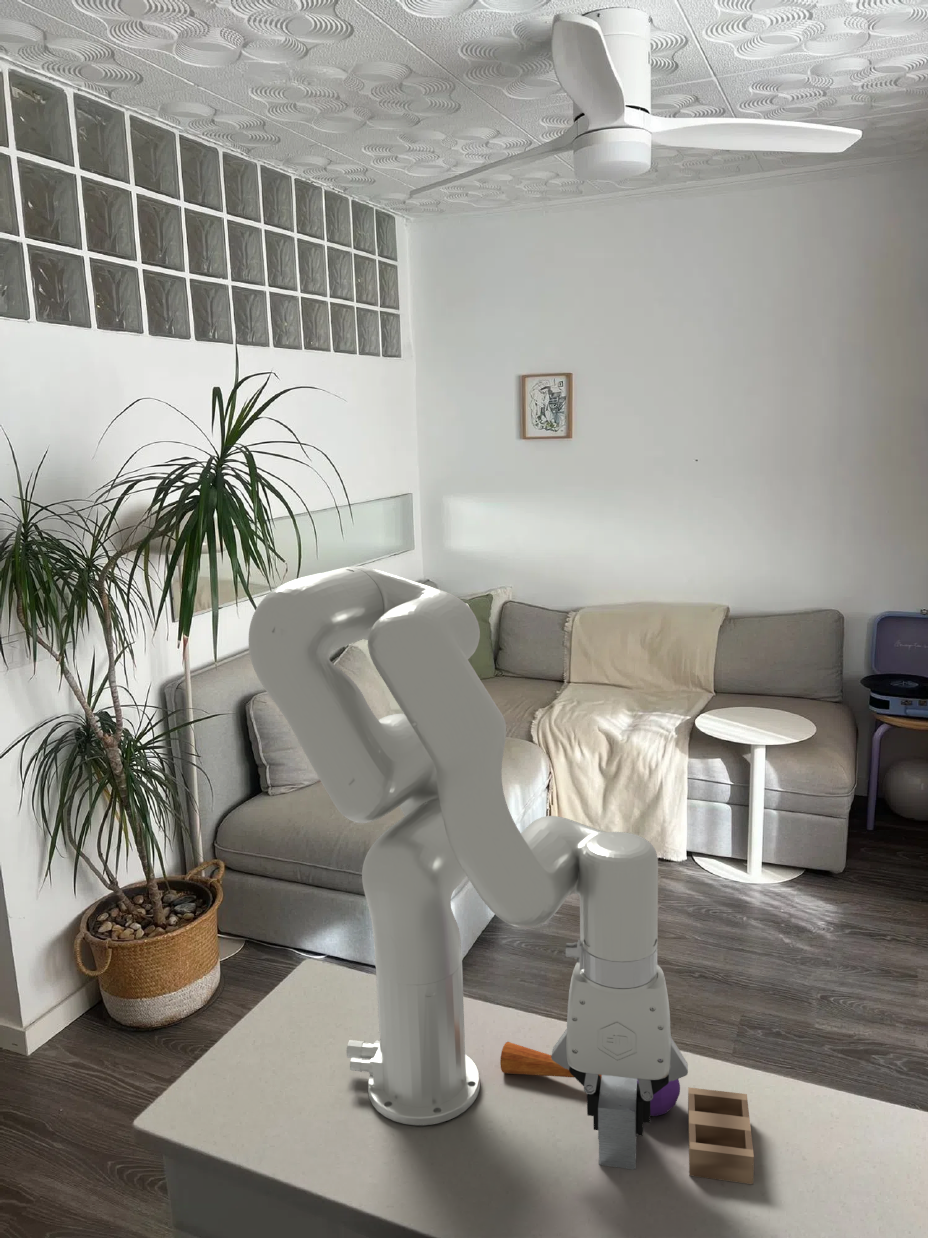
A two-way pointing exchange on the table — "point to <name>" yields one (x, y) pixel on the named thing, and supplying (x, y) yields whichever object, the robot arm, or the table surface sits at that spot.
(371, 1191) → the table surface
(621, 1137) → the steel brick
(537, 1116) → the table surface
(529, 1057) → the kendama
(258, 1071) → the table surface
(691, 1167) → the wooden frame
